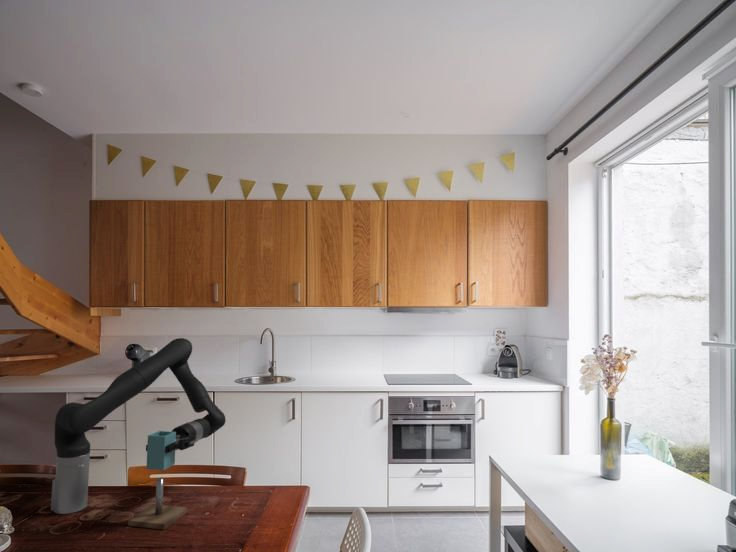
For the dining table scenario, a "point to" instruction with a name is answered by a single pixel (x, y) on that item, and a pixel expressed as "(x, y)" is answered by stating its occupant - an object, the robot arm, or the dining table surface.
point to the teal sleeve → (160, 450)
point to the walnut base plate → (157, 517)
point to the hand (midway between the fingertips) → (156, 449)
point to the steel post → (159, 496)
